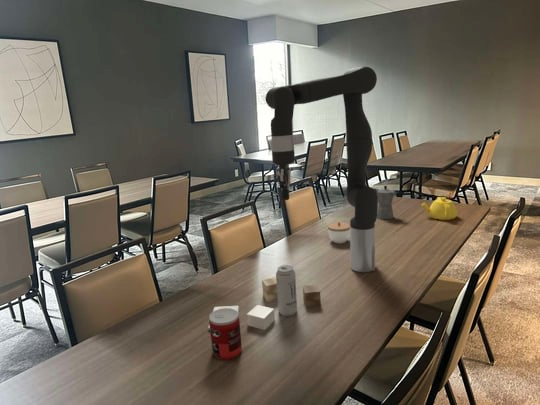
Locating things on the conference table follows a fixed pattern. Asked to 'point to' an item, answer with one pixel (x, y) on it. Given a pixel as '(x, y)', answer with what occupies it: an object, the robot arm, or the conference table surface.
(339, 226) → the lidded jar
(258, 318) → the pale grey block
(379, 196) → the coffeepot
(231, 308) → the external hard drive
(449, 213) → the teapot
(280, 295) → the energy drink can
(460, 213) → the conference table surface
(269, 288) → the oak block
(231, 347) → the canned food
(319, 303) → the walnut block
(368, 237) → the robot arm
